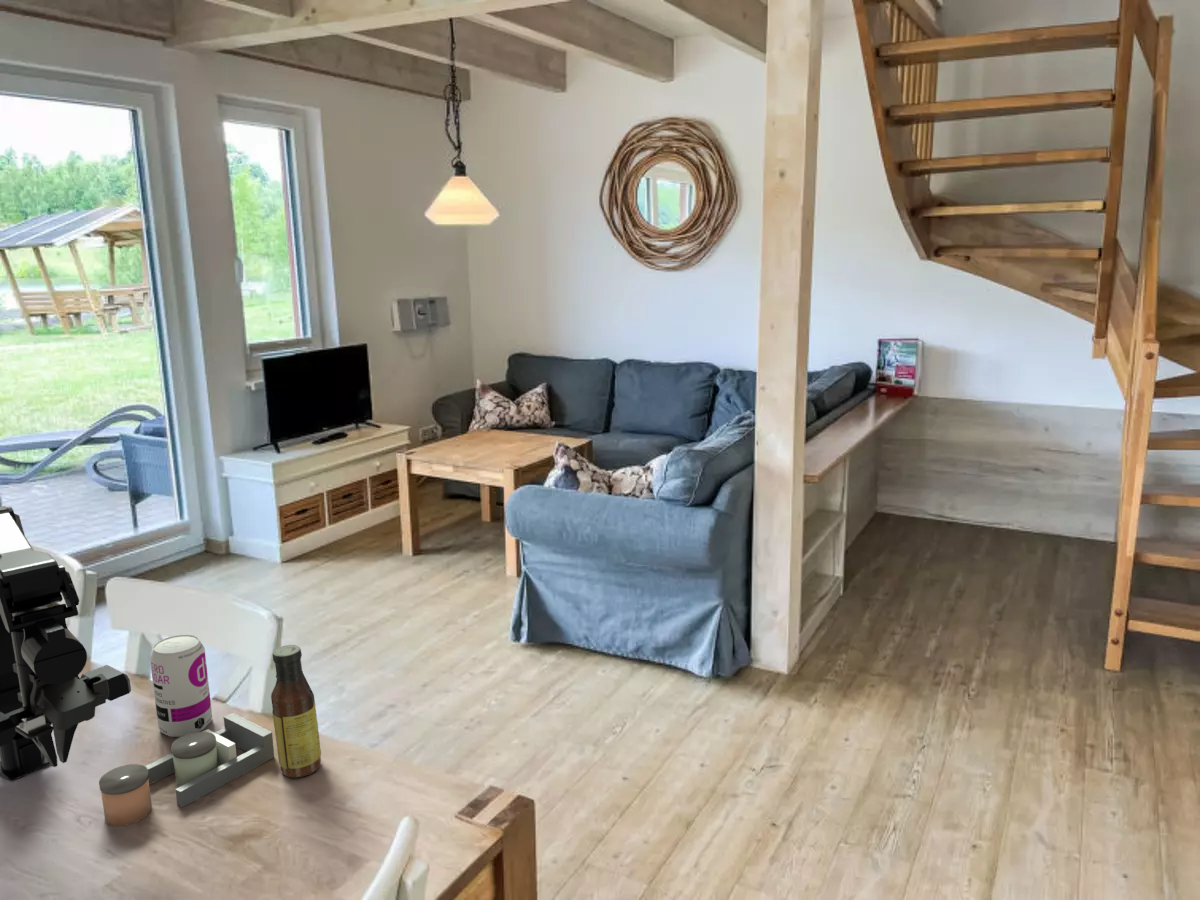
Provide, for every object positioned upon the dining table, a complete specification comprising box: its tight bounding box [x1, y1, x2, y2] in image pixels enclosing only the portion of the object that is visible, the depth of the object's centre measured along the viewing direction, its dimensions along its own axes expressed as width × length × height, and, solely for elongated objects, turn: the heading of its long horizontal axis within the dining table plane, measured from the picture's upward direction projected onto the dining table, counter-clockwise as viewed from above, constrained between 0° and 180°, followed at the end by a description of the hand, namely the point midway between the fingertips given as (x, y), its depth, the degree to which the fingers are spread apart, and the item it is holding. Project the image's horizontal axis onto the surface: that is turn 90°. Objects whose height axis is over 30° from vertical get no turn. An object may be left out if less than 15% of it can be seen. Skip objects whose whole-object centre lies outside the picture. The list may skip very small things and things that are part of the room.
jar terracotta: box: [98, 763, 153, 827], centre depth 129 cm, size 6×6×6 cm
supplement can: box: [149, 634, 213, 738], centre depth 151 cm, size 8×8×15 cm
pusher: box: [202, 728, 238, 767], centre depth 141 cm, size 7×1×4 cm, turn 55°
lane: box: [144, 712, 275, 808], centre depth 140 cm, size 10×16×4 cm
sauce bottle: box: [270, 644, 322, 778], centre depth 138 cm, size 6×6×20 cm
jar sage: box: [170, 731, 219, 787], centre depth 138 cm, size 6×6×6 cm
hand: (58, 763), depth 121 cm, fingers closed
